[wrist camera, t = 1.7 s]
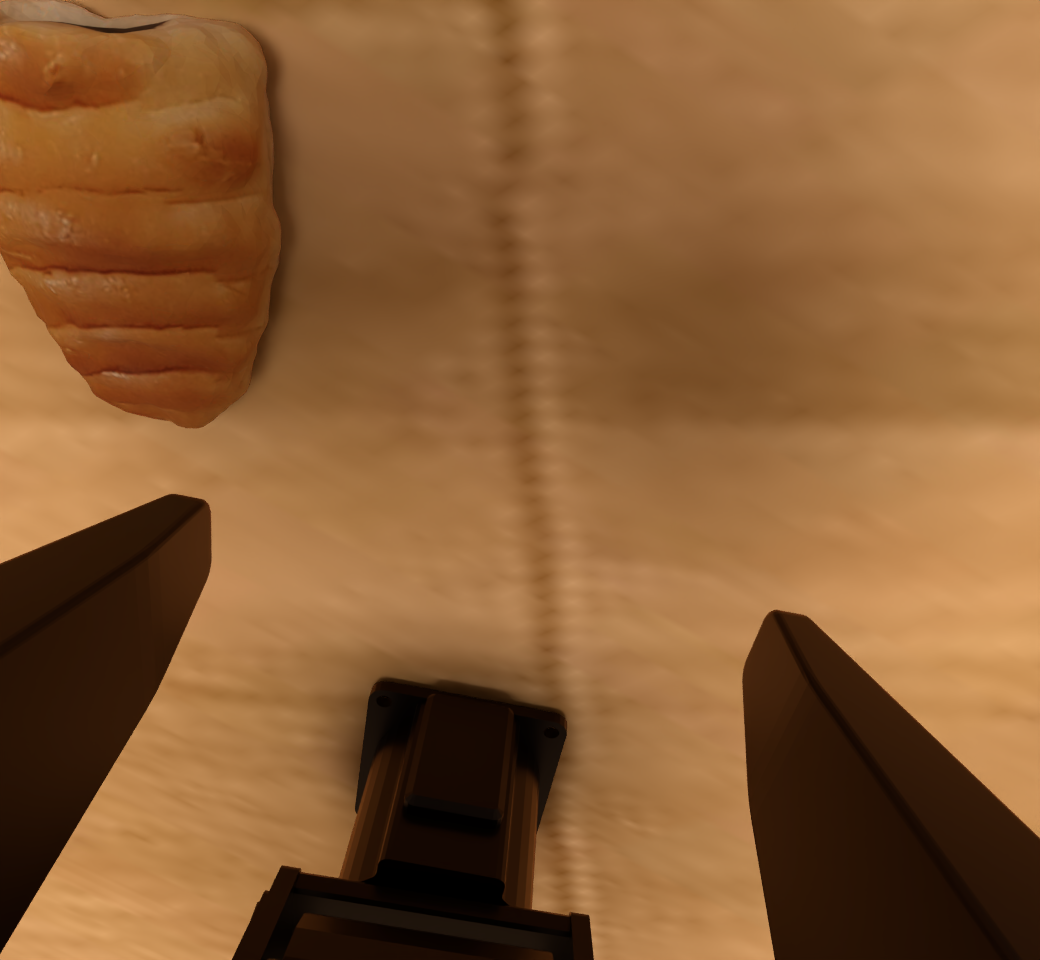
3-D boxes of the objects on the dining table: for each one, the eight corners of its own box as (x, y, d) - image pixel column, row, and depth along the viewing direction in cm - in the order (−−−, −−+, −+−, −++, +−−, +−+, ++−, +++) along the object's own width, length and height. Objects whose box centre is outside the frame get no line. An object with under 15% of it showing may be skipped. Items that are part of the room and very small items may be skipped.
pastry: (319, 406, 22) (271, 476, 19) (78, 391, 22) (-11, 457, 19) (277, 6, 17) (203, 5, 14) (-26, -5, 18) (-168, -8, 14)
